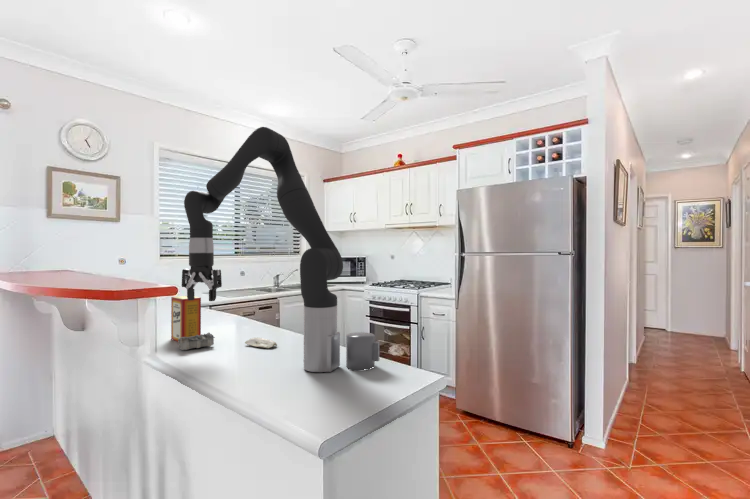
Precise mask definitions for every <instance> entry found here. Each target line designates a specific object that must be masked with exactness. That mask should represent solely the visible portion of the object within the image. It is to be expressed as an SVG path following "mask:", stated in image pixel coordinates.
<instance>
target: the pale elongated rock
mask: <svg viewBox="0 0 750 499" xmlns="http://www.w3.org/2000/svg"><path fill="white" fill-rule="evenodd" d="M244 344H246V345H248V346H252V347H258V348H264V349H271V348H273V347H275V346H276V347H278V344H277V342H275V341H274V340H271V339H266V338H262V337H252V338H249V339H247V340H246V341H245V342H244Z"/></svg>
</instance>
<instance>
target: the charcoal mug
mask: <svg viewBox="0 0 750 499" xmlns="http://www.w3.org/2000/svg"><path fill="white" fill-rule="evenodd" d="M345 337H346V339H345V340H346V341H345V344H346V347H345V348H346V351H345V354H346V355H345V357H346V358H345V360H346V362H345V363H346V366H345V367H347V368H349V369H353V370H364V369H370V368H372V367H374V366H375V365H376V362H379V361H380V342H378V341H375V340H376V339H375V338H376V336H375V334H374V333H371V332H364V331H363V332H362V331H361V332H358V331H357V332H351V333H347V334H346V336H345ZM375 367H376V366H375ZM375 367H374V368H375ZM347 368H346V369H347ZM349 369H348V370H349ZM353 370H352V371H353Z"/></svg>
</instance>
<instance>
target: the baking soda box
mask: <svg viewBox="0 0 750 499" xmlns="http://www.w3.org/2000/svg"><path fill="white" fill-rule="evenodd" d="M170 301H171V304H170V305H171V311H170V312H171V313H170V314H171V316H170V318H171V319H170V322H171V325H170V326H171V330H170V331H171V332H170V333H171V335H170V336H171V337H170V338H171V339H170V340H172V339H173V340H172V341H175V342H177V343H178V339H179V338H181V337H191V336H196V335H202V332H201V328H202V326H201V325H202V321H201V319H202V318H201V317H202V316H201V315H202V297H200V296H195V295H194V300H191V301H190V300H188V298H187V295H181V296H180V295H179V296H172V297H171V300H170Z"/></svg>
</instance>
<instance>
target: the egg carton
mask: <svg viewBox="0 0 750 499" xmlns="http://www.w3.org/2000/svg"><path fill="white" fill-rule="evenodd" d="M215 338H216V337H215V336H214V335H213V334H212V333H210V332H206V333H203V334H201V335H196V336H191V337H181V338H179V339H178V342H177V343H178V349H180V351H183V350H185V351H186V350H191V349H195V348H196V349H199V348H203V347H211V346H214V345H215V343H214V341H215V340H214V339H215Z"/></svg>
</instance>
